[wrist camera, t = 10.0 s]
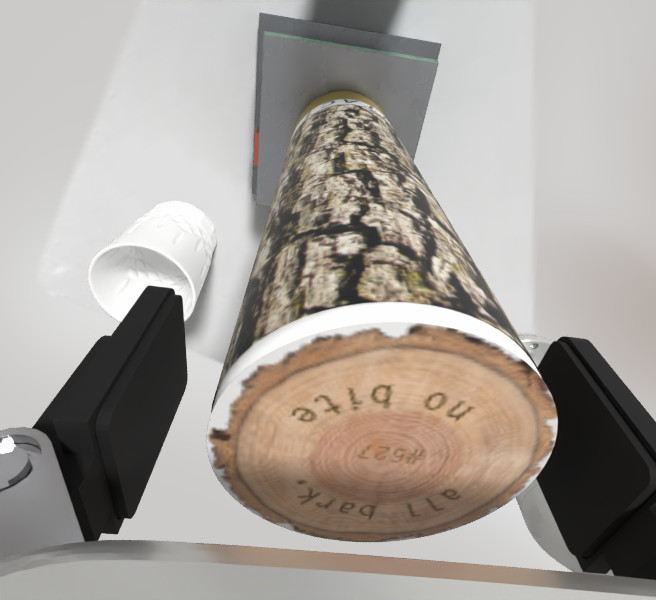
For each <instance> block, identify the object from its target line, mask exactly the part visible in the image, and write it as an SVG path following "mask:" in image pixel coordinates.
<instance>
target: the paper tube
mask: <svg viewBox="0 0 656 600" xmlns="http://www.w3.org/2000/svg"><path fill="white" fill-rule="evenodd" d="M557 426H558V419H557V411H556V407H555V403H554V400H553V397H552V395H551V393H550V391H549V389H548V387H547V386H546V384H545V383H544V381H543V378H542V375H541V373H540V371H539V369H538V367H537V366H536V364H535V362H534V360H533V359H532V357H531V355H530V354H529V352H528V350H527V349H526V347H525V345H524V344H523V342H522V341H521V339H520V337H519V336H518V334H517V332H516V331H515V329H514V327H513V326H512V324H511V322H510V321H509V319H508V317H507V316H506V314H505V312H504V311H503V309H502V307H501V306H500V304H499V303H498V301H497V299H496V298H495V296H494V294H493V293H492V291H491V289H490V288H489V286H488V284H487V283H486V281H485V279H484V278H483V276H482V274H481V273H480V271H479V269H478V268H477V266H476V265H475V263H474V261H473V260H472V258H471V256H470V255H469V253H468V251H467V250H466V248H465V246H464V245H463V243H462V241H461V240H460V238H459V236H458V235H457V233H456V232H455V230H454V228H453V227H452V225H451V223H450V222H449V220H448V218H447V217H446V215H445V213H444V212H443V210H442V208H441V207H440V205H439V203H438V202H437V200H436V198H435V197H434V195H433V194H432V192H431V190H430V189H429V187H428V185H427V184H426V182H425V180H424V179H423V177H422V175H421V174H420V172H419V170H418V169H417V167H416V165H415V164H414V162H413V160H412V159H411V157H410V156H409V154H408V152H407V151H406V149H405V147H404V146H403V144H402V142H401V141H400V139H399V137H398V136H397V134H396V132H395V131H394V129H393V127H391V124H390V123H389V121H388V120H387V118H386V117H385V115H384V113H383V112H382V111H381V109H380V108H379V107H378V106H377V105H376V104H375V103H374V102H373V101H371V100H370V99H369V98H367V97H365V96H363V95H361V94H358V93H355V92H350V91H336V92H331V93H328V94H325V95H323V96H321V97H319V98H317V99H316V100H314V101H313V102H312V103H310V104H309V105H308V106H307V107H306V109H305V110H304V111H303V112H302V114H301V115H300V117H299V119H298V121H297V123H296V126H295V129H294V132H293V135H292V138H291V141H290V144H289V148H288V151H287V155H286V158H285V161H284V165H283V168H282V171H281V175H280V178H279V181H278V185H277V188H276V192H275V195H274V198H273V202H272V205H271V208H270V212H269V215H268V218H267V222H266V225H265V229H264V232H263V235H262V239H261V242H260V245H259V249H258V252H257V255H256V259H255V262H254V266H253V269H252V272H251V276H250V279H249V282H248V286H247V289H246V292H245V296H244V299H243V303H242V306H241V309H240V313H239V316H238V319H237V323H236V326H235V329H234V333H233V336H232V340H231V343H230V346H229V350H228V353H227V356H226V360H225V363H224V366H223V370H222V373H221V377H220V380H219V383H218V387H217V391H216V393H215V397H214V400H213V404H212V410H211V416H210V419H209V423H208V428H207V435H206V444H207V452H208V457H209V461H210V463H211V466H212V469H213V471H214V473H215V475H216V476H217V478H218V480H219V481H220V482H221V484H222V485H223V487H224V488H225V489H226V490H227V491H228V492H229V493H230V495H232V497H233V498H234V499H236V500H237V501H238V502H239V503H240V504H242V505H243V506H244V507H246V508H247V509H249V510H250V511H252V512H253V513H255V514H256V515H258V516H260V517H262V518H263V519H265V520H267V521H270V522H272V523H274V524H276V525H278V526H281V527H284V528H286V529H289V530H292V531H295V532H299V533H302V534H306V535H311V536H314V537H321V538H325V539H332V540H340V541H352V542H387V541H398V540H406V539H413V538H419V537H424V536H429V535H433V534H437V533H441V532H445V531H448V530H451V529H454V528H458V527H460V526H463V525H466V524H468V523H471V522H473V521H475V520H477V519H480V518H482V517H484V516H486V515H488V514H490V513H492V512H494V511H495V510H497V509H499V508H500V507H502V506H503V505H505V504H507V503H508V502H509V501H511V500H512V499H513V498H515V497H516V496H517V495H519V494H520V493H521V492H522V491H523V490H524V489H525V488H527V487H528V486H529V485H530V484H531V482H532V481H533V480H534V479H535V478H536V477H537V476H538V474H539V473H540V472H541V470H542V469H543V468H544V466H545V464H546V463H547V461H548V459H549V457H550V455H551V453H552V450H553V447H554V445H555V441H556V436H557Z"/></svg>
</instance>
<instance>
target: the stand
mask: <svg viewBox="0 0 656 600" xmlns="http://www.w3.org/2000/svg"><path fill="white" fill-rule="evenodd" d="M440 47H441V44H440V43H434V42H428V41H423V40H417V39H411V38H405V37H399V36H394V35H388V34H382V33H376V32H370V31H364V30H359V29H353V28H347V27H341V26H335V25H329V24H324V23H318V22H312V21H306V20H300V19H295V18H289V17H283V16H277V15H271V14H265V13H260V15H259V40H258V64H257V89H256V113H255V138H254V162H253V187H252V193H254V194H256V204H257V205H264V206H271V205H272V202H273V198H274V195H275V192H276V188H277V185H278V181H279V178H280V175H281V171H282V168H283V165H284V161H285V158H286V155H287V151H288V148H289V144H290V141H291V138H292V135H293V132H294V129H295V126H296V123H297V121H298V119H299V117H300V115H301V114H302V112H303V111H304V110H305V109H306V107H307V106H308V105H309V104H310V103H312V102H313V101H314V100H316V99H317V98H319V97H321V96H323V95H325V94H328V93H331V92H336V91H350V92H355V93H358V94H361V95H363V96H365V97H367V98H369V99H370V100H371V101H373V102H374V103H375V104H376V105H377V106H378V107H379V108H380V109H381V111H382V112H383V113H384V115H385V117H386V118H387V120H388V121H389V123H390V124H391V127H393V129H394V131H395V132H396V134H397V136H398V137H399V139H400V141H401V142H402V144H403V146H404V147H405V149H406V151H407V152H408V154H409V156H410V157H411V159H412V160H413V161H414V157H415V153H416V149H417V145H418V141H419V138H420V134H421V130H422V126H423V122H424V118H425V114H426V110H427V106H428V102H429V98H430V94H431V91H432V87H433V83H434V79H435V75H436V71H437V67H438V61H437V59H438V55H439V51H440Z"/></svg>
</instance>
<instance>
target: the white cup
mask: <svg viewBox="0 0 656 600" xmlns="http://www.w3.org/2000/svg"><path fill="white" fill-rule="evenodd" d="M216 244H217V239H216V233H215V227H214V226H213V224H212V223H211V221H210V220H209V218H208V217H207V215H206V214H205V213H203V212H202V211H200V210H199V209H198V208H196V207H195V206H193V205H192V204H188V203H184V202H179V201H175V200H173V201H169V202H164V203H160V204H158V205H156V206H155V207H154V208H153V209H152V210H151V211H150V212H148V213H147V214H146V215H144V216H141V217H140V218H139V219H138V220H136V221H135V222H134V223H132V224H131V225H130V226H129V227H128V228H127V229H125V230H124V231H123V232H122V233H121V234H120V235H118V236H117V237H116V238H115V239H114V240H113V241H112V242H110V243H109V244H108V245H107V246H106V247H105V248H103V249H102V250H101V251H100V252H99V253H98V254H97V255H96V256H95V257H94V258H93V260H92V261H91V263H90V266H89V270H88V283H89V287H90V290H91V293H92V295H93V297H94V298H95V300H96V301H97V303H98V304H99V305H100V306H101V308H102V309H103V310H104V311H105V312H107V313H108V314H109V315H110V316H111V317H113V318H114V319H116V320H117V321H119V322H122V320H123V319H124V317H125V316H126V315H127V313H128V312H129V310H130V309H131V308H132V306H133V305H134V303H135V302H136V301H137V299H138V298H139V296H140V295H141V294H142V292H143V291H144V289H145V288H146V287H147V286H149V285H150V286H159V287H167V288H173V289H174V291H175V295H181V296H182V299H183V312H184V322H185V321H186V320H187V319H188V318H189V317H190V315H191V314H192V312H193V310H194V307H195V305H196V302H197V299H198V297H199V294H200V291H201V289H202V286H203V283H204V281H205V278H206V276H207V273H208V270H209V267H210V264H211V258H212V254H213V252H214V249H215V247H216Z"/></svg>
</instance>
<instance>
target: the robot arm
mask: <svg viewBox="0 0 656 600" xmlns="http://www.w3.org/2000/svg"><path fill="white" fill-rule="evenodd" d="M519 337H520V339H521V341H522V342H523V344H524V345H525V347H526V349H527V350H528V352H529V354H530V355H531V357H532V359H533V360H534V362H535V364H536V366H537V367H538V369H539V371H540V373H541V375H542V378H543V381H544V383H545V384H546V386H547V387H548V389H549V391H550V393H551V395H552V397H553V400H554V403H555V407H556V411H557V419H558V426H557V436H556V441H555V445H554V447H553V450H552V453H551V455H550V457H549V459H548V461H547V463H546V464H545V466H544V468H543V469H542V470H541V472H540V473H539V474H538V476H537V477H536V478H535V479H534V480H533V481H532V482H531V484H530V485H529V486H528V487H527V488H525V489H524V490H523V491H522V492H521V493H520V494H519V495H517V496H516V500H517V502H518V505H519V507H520V510H521V512H522V515H523V518H524V520H525V523H526V525H527V527H528V529H529V531H530V533H531V534H532V536H533V538H534V539H535V540H536V542H537V543H538V544H539V545H540V547H541V548H542V549H543V550H544V551H545V552H547V554H549V555H550V556H551V557H552V558H554V559H555V560H556V561H558V562H559V563H560V564H562V565H563V566H565V567H566V568H568V569H569V570H571V571H573V572H562V571H550V570H539V569H528V568H516V567H505V566H504V567H503V566H492V565H479V564H467V563H456V562H444V561H431V560H418V559H406V558H394V557H381V556H369V555H356V554H342V553H329V552H317V551H303V550H290V549H277V548H263V547H251V546H237V545H220V544H203V543H186V542H169V541H145V540H144V541H143V540H137V541H136V540H134V541H133V540H104V541H103V540H102V541H98V539H99V537H100V535H101V533H106V534H118V532H119V529H120V527H121V525H122V523H123V520H124V518H129V519H131V518H132V517H133V516H134V514H135V512H136V510H137V507H138V504H139V502H140V500H141V497H142V495H143V492H144V490H145V488H146V485H147V483H148V480H149V478H150V475H151V473H152V470H153V468H154V465H155V463H156V460H157V458H158V455H159V453H160V451H161V448H162V446H163V443H164V441H165V438H166V436H167V433H168V431H169V428H170V426H171V423H172V421H173V419H174V416H175V414H176V411H177V409H178V406H179V404H180V401H181V399H182V396H183V394H184V392H185V388H186V385H187V361H186V344H185V328H184V312H183V299H182V296H181V295H175V291H174V289H173V288H167V287H159V286H150V285H149V286H147V287H146V288H145V289H144V291H143V292H142V294H141V295H140V296H139V298H138V299H137V301H136V302H135V303H134V305H133V306H132V308H131V309H130V310H129V312H128V313H127V315H126V316H125V317H124V319H123V320H122V322H121V323H120V324H119V326H118V327H117V329H116V330H115V331H114V333H113V334H112V336H103V337H101V338H100V339H99V340H98V341H97V342H96V343H95V345H94V346H93V347H92V349H91V350H90V351H89V353H88V354H87V355H86V357H85V358H84V359H83V361H82V362H81V363H80V365H79V366H78V367H77V369H76V370H75V371H74V373H73V374H72V375H71V377H70V378H69V379H68V381H67V382H66V384H65V385H64V386H63V387H62V389H61V390H60V391H59V393H58V394H57V395H56V397H55V398H54V399H53V401H52V402H51V403H50V405H49V406H48V408H47V409H46V410H45V411H44V413H43V414H42V416H41V417H40V418H39V419H38V421H37V422H36V424H35V425H34V426H33V427H32V428H26V427H21V428H9V429H5V430H2V431H0V600H656V422H655V421H654V419H653V418H652V417H651V416H650V414H649V413H648V412H647V411H646V409H645V408H644V407H643V406H642V405H641V403H640V402H639V401H638V400H637V399H636V397H635V396H634V395H633V394H632V392H631V391H630V390H629V389H628V387H627V386H626V385H625V384H624V383H623V381H622V380H621V379H620V378H619V377H618V375H617V374H616V373H615V372H614V370H613V369H612V368H611V367H610V365H609V364H608V363H607V362H606V360H605V359H604V358H603V357H602V356H601V354H600V353H599V352H598V351H597V349H596V348H595V347H594V346H593V344H592V343H591V342H590V341H588V340H586V339H580V338H572V337H561V338H560V339H558V340H557V341H554V342H553V341H551V340H549V339H546V338H543V337H539V336H532V335H520V336H519Z"/></svg>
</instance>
